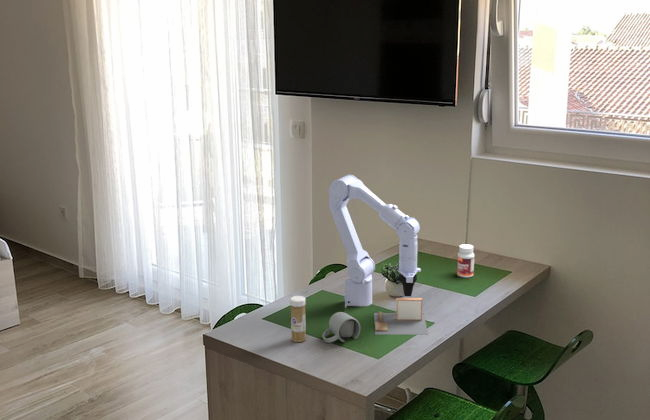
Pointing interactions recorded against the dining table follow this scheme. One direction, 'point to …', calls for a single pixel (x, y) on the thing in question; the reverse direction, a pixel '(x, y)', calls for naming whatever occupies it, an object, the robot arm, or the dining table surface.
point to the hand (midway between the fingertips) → (407, 295)
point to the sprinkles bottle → (298, 318)
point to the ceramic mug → (342, 327)
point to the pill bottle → (465, 261)
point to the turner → (380, 323)
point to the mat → (401, 325)
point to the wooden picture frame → (408, 308)
